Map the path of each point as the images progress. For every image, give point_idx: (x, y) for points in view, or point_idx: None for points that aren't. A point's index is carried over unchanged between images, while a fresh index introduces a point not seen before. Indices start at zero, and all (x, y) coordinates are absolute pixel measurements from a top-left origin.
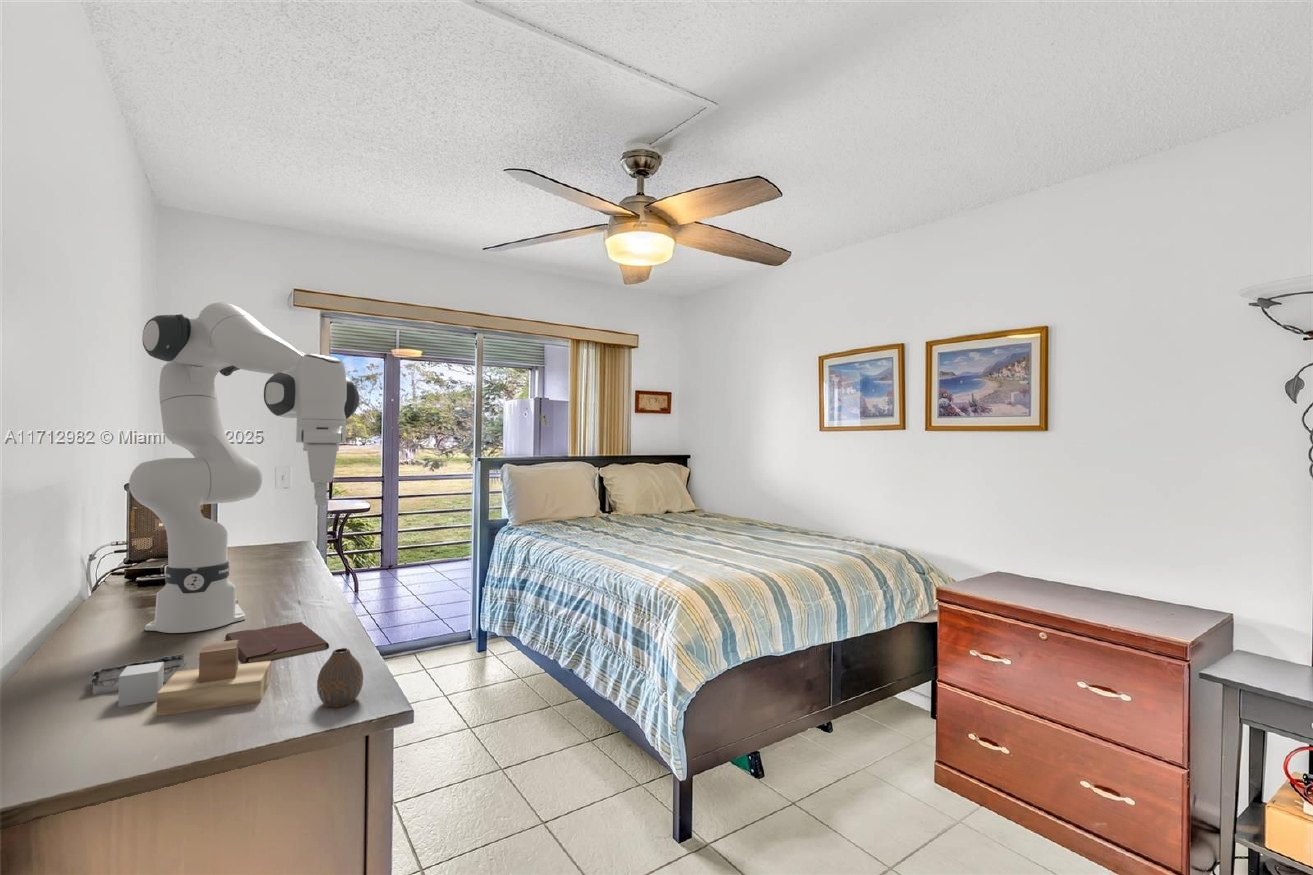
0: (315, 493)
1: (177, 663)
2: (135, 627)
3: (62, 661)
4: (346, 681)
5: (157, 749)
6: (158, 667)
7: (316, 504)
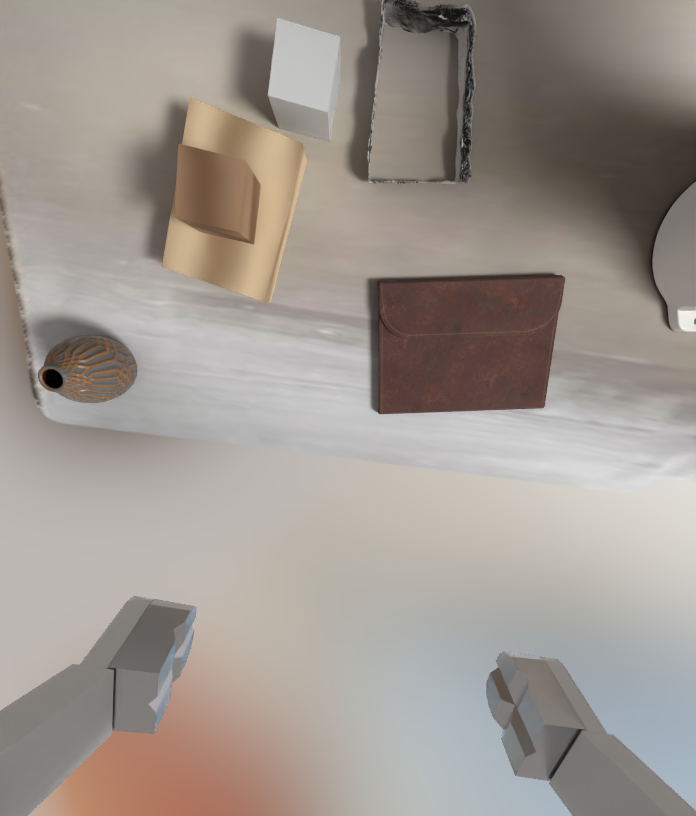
0: (31, 693)
1: (456, 176)
2: None
3: None
4: (53, 370)
5: (62, 111)
6: (293, 98)
7: (132, 597)
